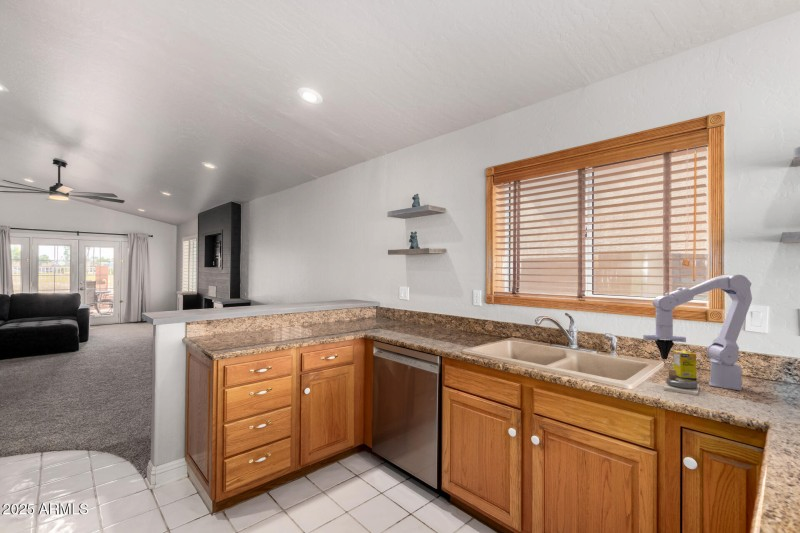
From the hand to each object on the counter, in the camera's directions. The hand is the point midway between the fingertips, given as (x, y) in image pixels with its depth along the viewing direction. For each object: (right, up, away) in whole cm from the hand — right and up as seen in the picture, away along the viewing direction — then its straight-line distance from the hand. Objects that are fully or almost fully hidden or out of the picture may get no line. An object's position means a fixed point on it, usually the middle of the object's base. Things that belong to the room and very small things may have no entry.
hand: (664, 358), depth 153 cm
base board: (+1, -9, -9) cm, 13 cm away
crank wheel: (+1, -8, -8) cm, 12 cm away
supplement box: (+13, -10, +6) cm, 17 cm away
